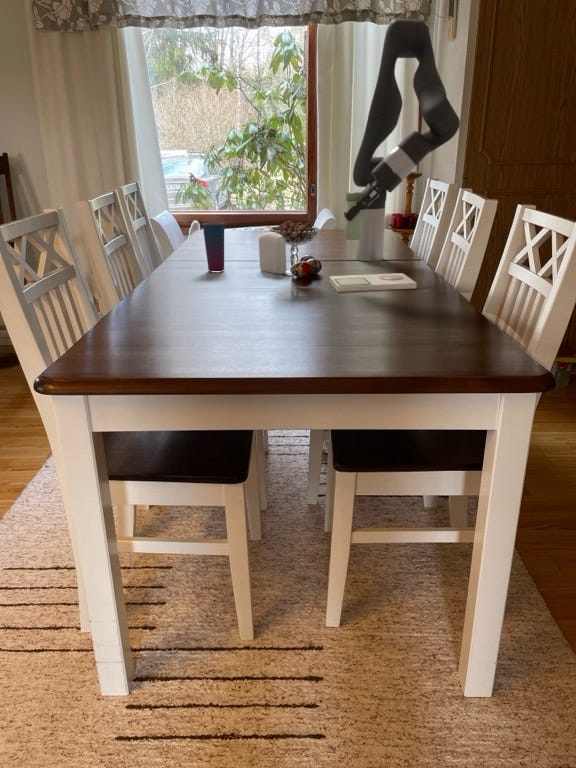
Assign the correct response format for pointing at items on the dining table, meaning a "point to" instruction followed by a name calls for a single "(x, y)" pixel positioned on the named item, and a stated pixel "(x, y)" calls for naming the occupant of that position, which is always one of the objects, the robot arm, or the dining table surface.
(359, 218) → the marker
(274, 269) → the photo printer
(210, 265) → the cup
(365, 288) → the picture board
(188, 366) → the dining table surface
